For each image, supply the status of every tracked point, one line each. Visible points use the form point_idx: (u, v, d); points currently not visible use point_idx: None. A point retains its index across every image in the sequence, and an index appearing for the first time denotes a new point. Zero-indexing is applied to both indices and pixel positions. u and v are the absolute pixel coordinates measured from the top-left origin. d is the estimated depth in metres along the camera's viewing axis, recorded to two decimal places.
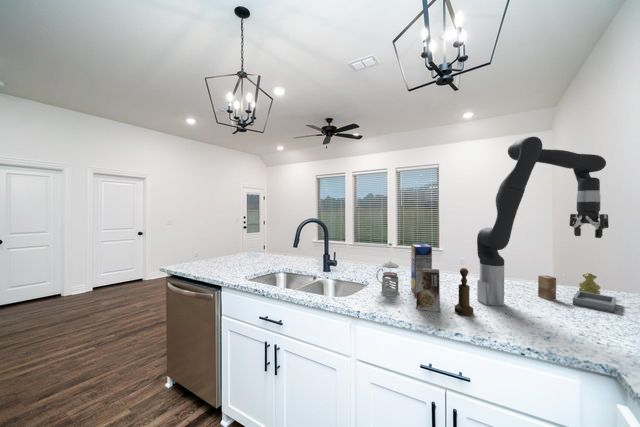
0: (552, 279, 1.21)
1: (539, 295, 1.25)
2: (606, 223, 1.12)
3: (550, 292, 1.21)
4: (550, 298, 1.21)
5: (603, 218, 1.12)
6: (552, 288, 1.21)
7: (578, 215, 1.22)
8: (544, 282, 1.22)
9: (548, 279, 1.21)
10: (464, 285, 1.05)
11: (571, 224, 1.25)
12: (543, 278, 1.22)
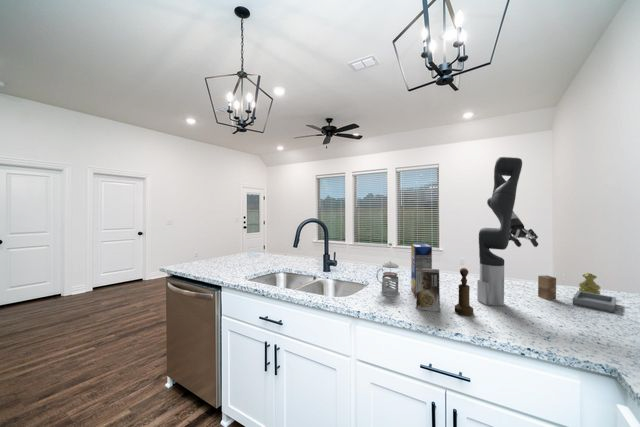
0: (552, 279, 1.21)
1: (539, 295, 1.25)
2: (533, 236, 1.39)
3: (550, 292, 1.21)
4: (550, 298, 1.21)
5: None
6: (552, 288, 1.21)
7: (513, 230, 1.40)
8: (544, 282, 1.22)
9: (548, 279, 1.21)
10: (464, 285, 1.05)
11: (511, 236, 1.37)
12: (543, 278, 1.22)
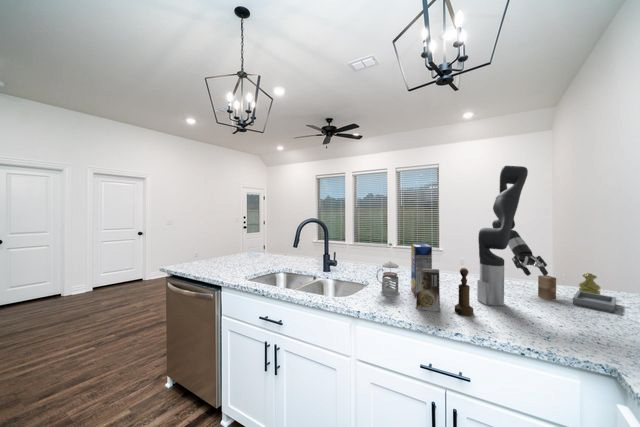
0: (552, 279, 1.21)
1: (539, 295, 1.25)
2: (541, 264, 1.33)
3: (550, 292, 1.21)
4: (550, 298, 1.21)
5: None
6: (552, 288, 1.21)
7: (521, 257, 1.34)
8: (544, 282, 1.22)
9: (548, 279, 1.21)
10: (464, 285, 1.05)
11: (520, 264, 1.31)
12: (543, 278, 1.22)
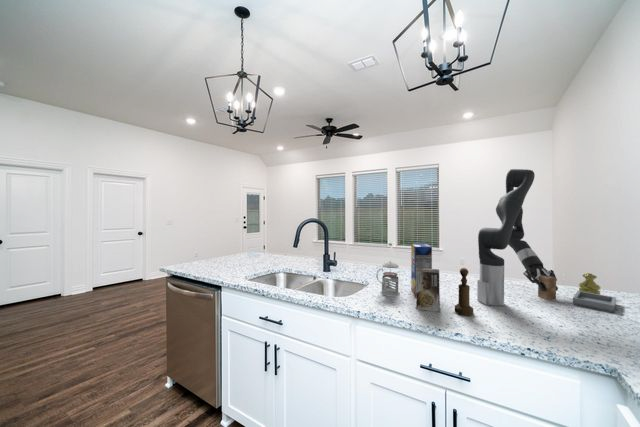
0: (552, 279, 1.21)
1: (539, 295, 1.25)
2: None
3: (550, 292, 1.21)
4: (550, 298, 1.21)
5: None
6: (552, 288, 1.21)
7: (532, 270, 1.27)
8: (544, 282, 1.22)
9: (548, 279, 1.21)
10: (464, 285, 1.05)
11: (535, 279, 1.24)
12: (543, 278, 1.22)
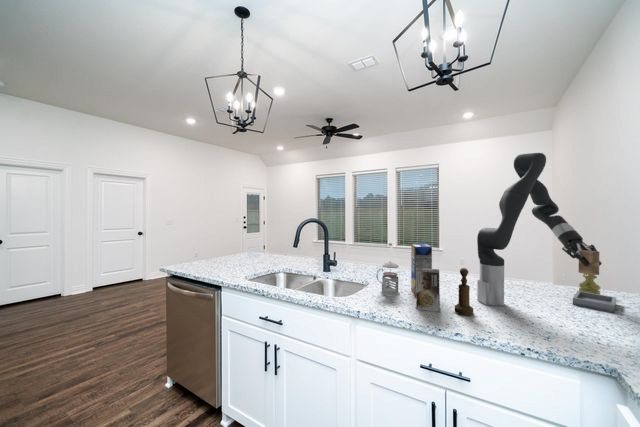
0: (595, 253, 1.13)
1: (580, 271, 1.17)
2: None
3: (593, 267, 1.14)
4: (593, 273, 1.14)
5: None
6: (595, 263, 1.14)
7: (572, 245, 1.20)
8: (586, 256, 1.15)
9: (591, 253, 1.13)
10: (464, 285, 1.05)
11: (577, 253, 1.16)
12: (585, 252, 1.15)
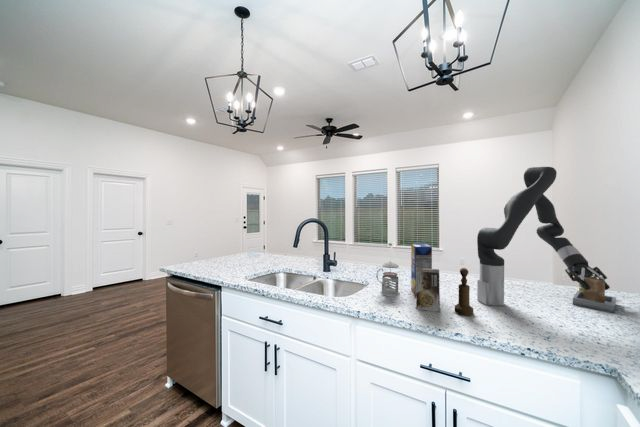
0: (600, 282, 1.12)
1: (585, 299, 1.16)
2: None
3: (599, 296, 1.12)
4: None
5: None
6: (600, 291, 1.12)
7: (576, 268, 1.19)
8: (591, 285, 1.13)
9: (596, 282, 1.12)
10: (464, 285, 1.05)
11: (577, 276, 1.16)
12: (590, 281, 1.14)
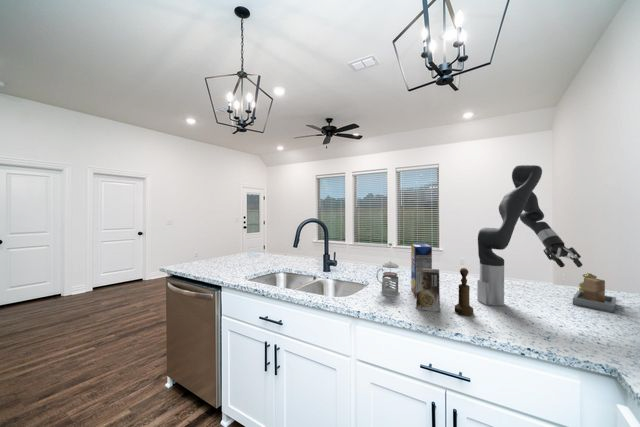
0: (600, 282, 1.12)
1: (585, 299, 1.16)
2: None
3: (599, 296, 1.12)
4: None
5: None
6: (600, 291, 1.12)
7: (553, 248, 1.30)
8: (591, 285, 1.13)
9: (596, 282, 1.12)
10: (464, 285, 1.05)
11: (553, 255, 1.27)
12: (590, 281, 1.14)
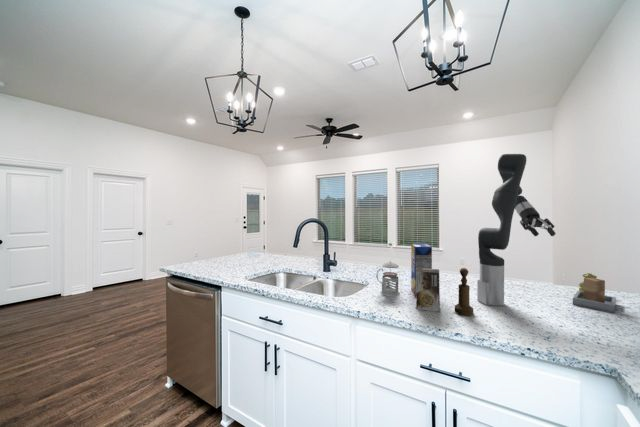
0: (600, 282, 1.12)
1: (585, 299, 1.16)
2: None
3: (599, 296, 1.12)
4: None
5: None
6: (600, 291, 1.12)
7: (529, 219, 1.36)
8: (591, 285, 1.13)
9: (596, 282, 1.12)
10: (464, 285, 1.05)
11: (528, 225, 1.33)
12: (590, 281, 1.14)
